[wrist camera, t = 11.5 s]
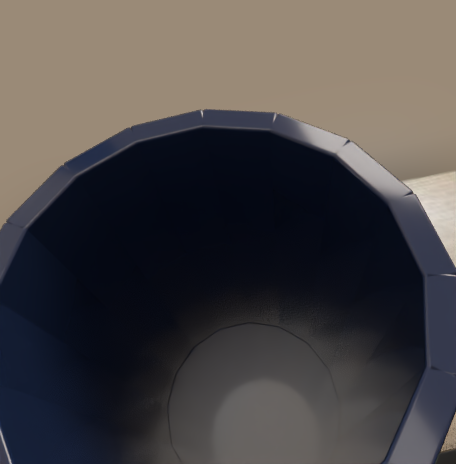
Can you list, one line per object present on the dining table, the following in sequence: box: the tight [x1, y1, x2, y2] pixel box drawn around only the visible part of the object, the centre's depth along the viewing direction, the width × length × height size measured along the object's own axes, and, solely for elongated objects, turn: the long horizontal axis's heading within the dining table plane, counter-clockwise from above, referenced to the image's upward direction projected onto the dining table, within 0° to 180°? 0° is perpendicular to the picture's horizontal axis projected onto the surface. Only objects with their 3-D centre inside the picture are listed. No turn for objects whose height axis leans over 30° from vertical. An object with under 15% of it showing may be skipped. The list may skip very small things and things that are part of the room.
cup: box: [0, 109, 456, 464], centre depth 12 cm, size 7×7×12 cm
